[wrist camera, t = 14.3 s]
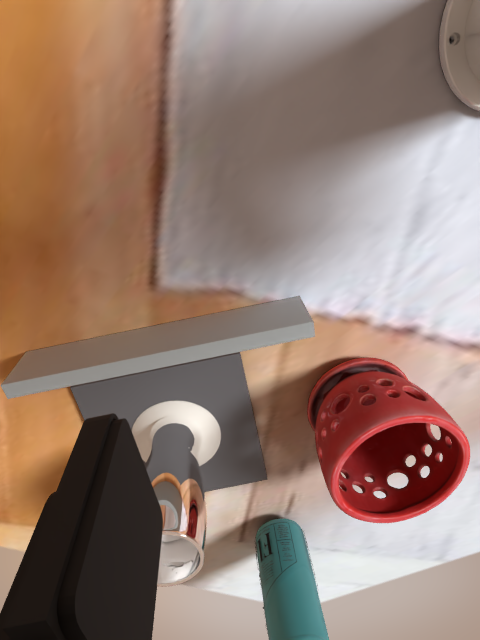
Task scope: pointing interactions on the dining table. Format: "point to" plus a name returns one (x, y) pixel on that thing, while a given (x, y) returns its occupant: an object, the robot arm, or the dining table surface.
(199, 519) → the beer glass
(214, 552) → the dining table surface
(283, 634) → the beverage bottle
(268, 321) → the low wall
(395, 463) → the plant pot
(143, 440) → the dark gray mat
